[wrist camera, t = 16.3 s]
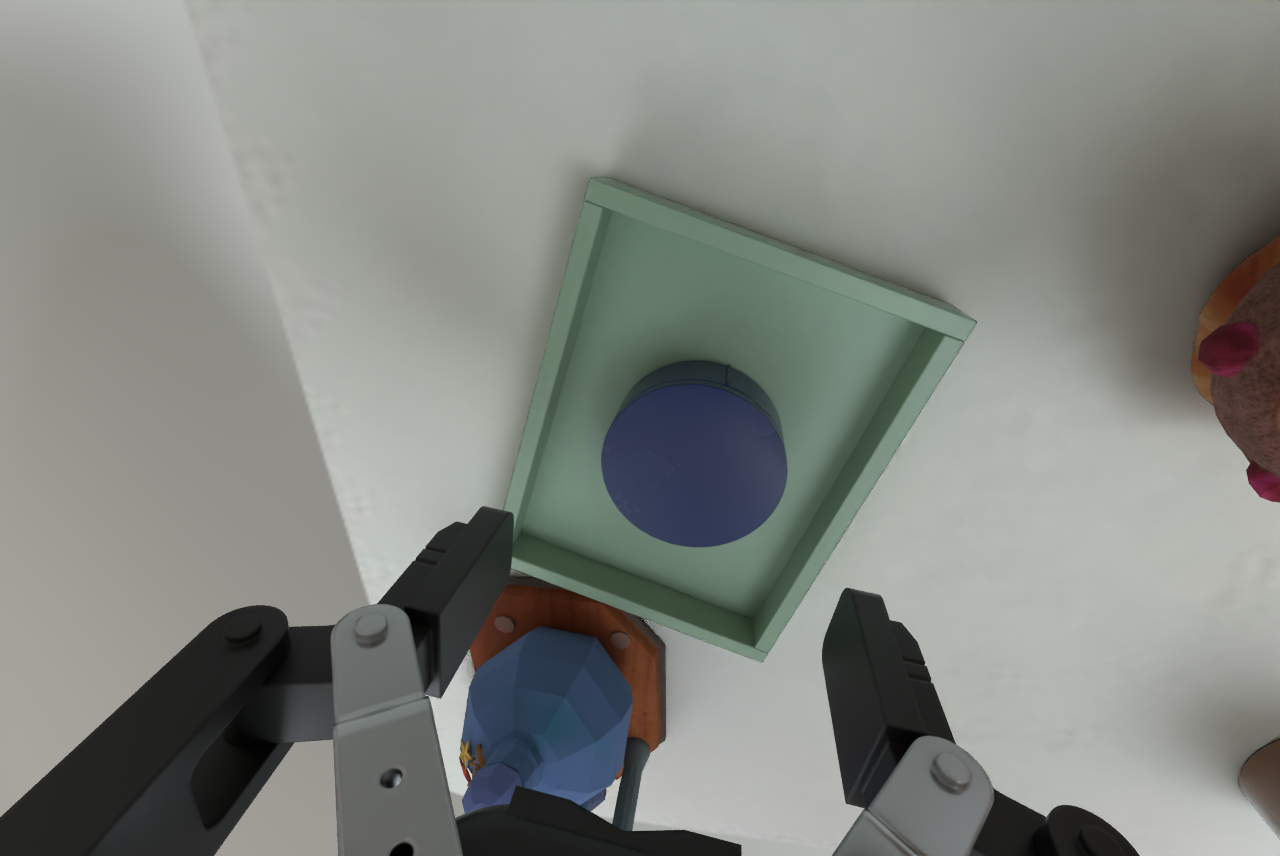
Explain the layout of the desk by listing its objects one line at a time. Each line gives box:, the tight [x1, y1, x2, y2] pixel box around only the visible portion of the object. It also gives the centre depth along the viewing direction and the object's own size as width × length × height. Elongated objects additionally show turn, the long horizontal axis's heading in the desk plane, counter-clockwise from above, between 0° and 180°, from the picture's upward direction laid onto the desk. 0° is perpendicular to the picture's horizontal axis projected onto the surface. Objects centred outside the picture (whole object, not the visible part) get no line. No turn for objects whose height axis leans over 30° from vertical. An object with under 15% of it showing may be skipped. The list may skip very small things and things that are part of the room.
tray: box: [503, 177, 977, 662], centre depth 19 cm, size 14×11×2 cm
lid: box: [601, 360, 788, 547], centre depth 18 cm, size 6×6×2 cm
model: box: [459, 577, 666, 831], centre depth 22 cm, size 12×9×9 cm
